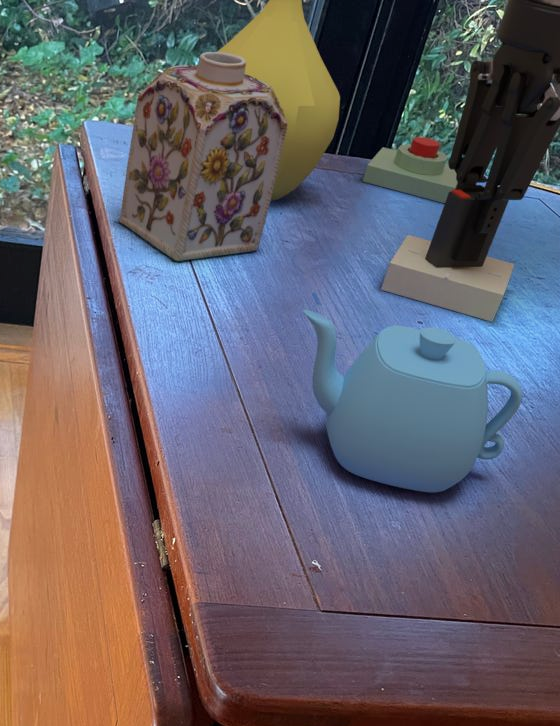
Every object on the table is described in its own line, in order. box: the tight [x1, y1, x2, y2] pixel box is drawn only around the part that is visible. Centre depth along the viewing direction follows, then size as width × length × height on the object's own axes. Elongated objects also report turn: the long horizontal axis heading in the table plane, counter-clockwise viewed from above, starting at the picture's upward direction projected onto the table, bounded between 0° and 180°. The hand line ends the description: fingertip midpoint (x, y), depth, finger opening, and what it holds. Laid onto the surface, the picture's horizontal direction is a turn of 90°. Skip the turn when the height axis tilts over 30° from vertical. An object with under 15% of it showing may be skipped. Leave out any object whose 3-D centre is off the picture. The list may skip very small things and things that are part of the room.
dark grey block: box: [425, 190, 510, 267], centre depth 104 cm, size 6×2×7 cm, turn 108°
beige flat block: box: [380, 234, 516, 323], centre depth 108 cm, size 12×10×3 cm
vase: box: [217, 0, 341, 202], centre depth 116 cm, size 18×18×30 cm
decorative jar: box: [119, 51, 288, 262], centre depth 105 cm, size 12×12×18 cm
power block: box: [362, 143, 457, 204], centre depth 134 cm, size 12×10×4 cm
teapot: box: [302, 309, 523, 493], centre depth 78 cm, size 13×11×18 cm
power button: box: [409, 136, 441, 158], centre depth 133 cm, size 4×4×2 cm
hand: (456, 253), depth 106 cm, fingers closed on dark grey block, 2 cm apart
